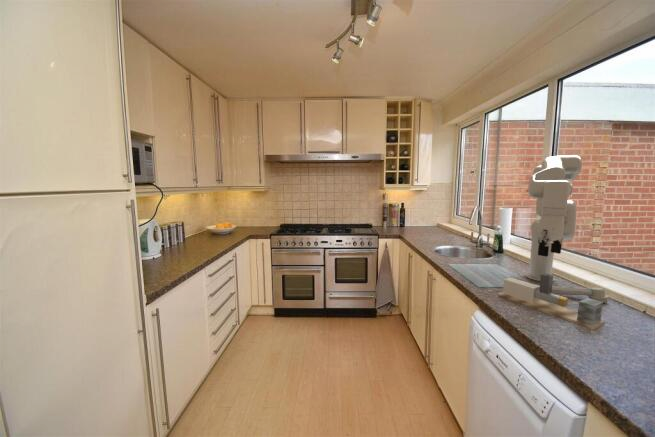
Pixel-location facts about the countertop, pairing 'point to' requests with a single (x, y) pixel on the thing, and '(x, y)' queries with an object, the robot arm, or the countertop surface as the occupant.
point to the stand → (569, 311)
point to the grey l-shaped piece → (549, 291)
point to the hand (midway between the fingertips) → (549, 254)
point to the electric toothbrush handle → (582, 292)
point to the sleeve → (520, 289)
